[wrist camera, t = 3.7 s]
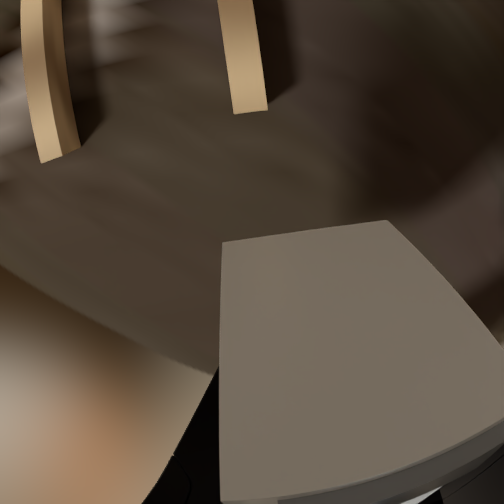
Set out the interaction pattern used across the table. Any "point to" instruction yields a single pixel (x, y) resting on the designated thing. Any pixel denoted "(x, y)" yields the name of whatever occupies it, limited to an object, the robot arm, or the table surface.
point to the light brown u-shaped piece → (56, 79)
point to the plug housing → (349, 371)
